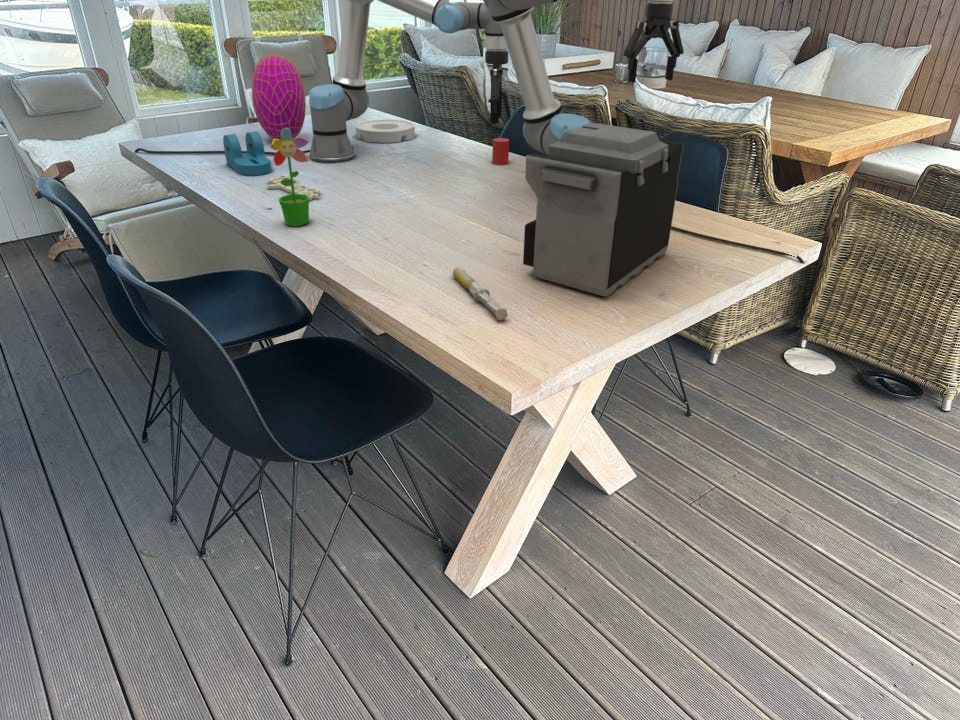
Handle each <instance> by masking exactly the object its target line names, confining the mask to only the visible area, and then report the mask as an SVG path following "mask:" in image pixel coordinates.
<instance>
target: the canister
mask: <svg viewBox="0 0 960 720" xmlns="http://www.w3.org/2000/svg"><path fill="white" fill-rule="evenodd" d="M509 150H510V139H509V138H506V137H495V138H492V154H491V155H492V156H491V159H492V160H491V161H492V162H491V163H492V164H494V165H499V166H503V165H508V164H509V159H510V158H509V155H510V151H509Z"/></svg>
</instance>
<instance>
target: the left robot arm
mask: <svg viewBox="0 0 960 720" xmlns="http://www.w3.org/2000/svg"><path fill="white" fill-rule="evenodd" d="M374 1H375V0H343V9H342V22H341V30H340V31H341V33H340V43H339V44H340V45H339V55H338V68H337V73H336V74H334V75H333V76H332V83H328V84H323V85H321V84H320V85H317V86H314V87H313V88H311V89H310V90H309V93H308V98H309V99H308V104H309V109H310V110H309V111H310V119H311V127H312V141H311V144H310V149H307V150H301V151H302V152H304V153H305V154H309V158H310V160H312V161H315V162H319V163H342V162H346V161H349V160H352V159H354V158H355V152H354V146H353V145H352V143H351V141H350V138H349V135H348V130H347V122H348V121H350V120H355V119H357V118H359V117H361V116H362V115H364V114H365V113H366V112H367V110H368V108H369V105H370V96H369V95H370V94H369V92H368V91H367V82H366V81H365V79H364V77H363V75H364V67H365V56H366V48H367V40H368V39H367V38H368V37H367V36H368V30H369V19H370V12H371V11H370V10H371V4H372V3H373V2H374ZM377 1H378V2H379V3H383V4H385V5H387V6H389V7H391V8H394V9H397V10H399V11H401V12H403V13H406V14H408V15H411V16H413V17H415V18H418V19H419V20H422V21H424V22H427V23H429V24H431V25H433V26H435V27H437V28H438V29H439V31H440V32H442V33H445V34H455V33H457V32H460V31H465V30H484V49H485V52H484V63H485V64H487V65H492V68H491V69H490V70H489V75H490V98H489V99H488V103H489V104H490V108H489V109H490V115H489V116H490V118H489V119H490V122H489V123H490V124H499V123H500V116H502V113H503V112H502V106H503V99H502V98H503V97H502V96H503V95H505V91H504V90H503V75H504V69H503V68H502V67H503V65H507V64H508V63H509V51H508V48H507V45H506V41H505V38H504V35H503V32H502V28H501V26H500V25H499V24H497V23H495V22H494V21H493V18H492V15H491V12H490V9H489V6H488V5H487V4H485V3H484V2H468V1H455V2H451V1H447V0H377ZM140 151H141V152H144V153H147V154H158V155H159V154H167V155H169V154H170V155H171V154H173V155H175V154H176V155H177V154H181V155H187V154H190V155H191V154H193V155H194V154H198V155H199V154H200V155H201V154H225V150H148V149H145V148H143V147H138V148H136V149H135V150H134V152H133V153H135V154H137V153H138V152H140ZM264 152H265V155H271V156H272V155H273V156H274V155H275V153H276V152H277V151H275V152H274V151H264ZM242 153H247V150H242Z"/></svg>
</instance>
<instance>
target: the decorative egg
mask: <svg viewBox="0 0 960 720" xmlns="http://www.w3.org/2000/svg"><path fill="white" fill-rule="evenodd" d="M253 70H254V71H253V73H252V77H251V101H252V107H253V110H254V114H255V116H256V118H257V121H258V123H259V125H260V127H261V128H262V130H263V131H264V133H266V135H267V136H268V137H270V138H271V139H272V140H273V139H279V140H281V136H280V134H281V131H282V130H283V129H284V128H288V129H289V130H290V131H291V134H292V139H293V138H295V137H298V136H299V134H301V131H302V129H303V127H304V123H305V118H306V104H307V103H306V102H307V101H306V99H307V97H306V93H305V88H304V84H303V81H302V77H301V75H300V73H299V71H298V69H297V67H296V66H295V65H294V63H293V62H292V61H291V60H290V59H288V58H287V57H285V56H282V55H280V54H268V55H265V56H262V57H261V58H260V59H259V60H258V61H257V62H256V65H255V68H254V69H253ZM281 141H282V140H281Z"/></svg>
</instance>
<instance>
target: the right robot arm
mask: <svg viewBox="0 0 960 720" xmlns="http://www.w3.org/2000/svg"><path fill="white" fill-rule="evenodd" d="M482 1H483V3H485V4H487V5H488V6H489V9H490V12H491V15H492V18H493V21H494V22H495V23H497V24H499V25H500V26H501V28H502V32H503V35H504V38H505V41H506V45H507V48H508V49H507V51H508V52H509V53H508V56H509V57H510V61H511V64H512V68H513V71H514V74H515V77H516V80H517V84H518V87H519V91H520V93H521V97H522V100H523V103H524V107H525V109H524V111H523V113H522V117H523V121H524V122H523V124H522V125H523V126H522V133H523V137H524V140H525V141H526V143H527V144H528V145H529V146H530V147H531V148H532V149H534V150H535V151H537V152H539V153H542V155H546V156H548V147H549V145H551V144H553V143H555V142H558V141H559V140H560V138H561V137H562V135H563V133H564V132H566V131H569V130H572V129H580V128H582V126H584V125H586V124H589V123H591V121H590V120H589V119H588V118H586V117H585V116H583V115H576V114H574V113H564V110H563V105H562V103H561V101H560V100H558V99H556V98H555V97H554V94H553V90H552V87H551V83H550V79H549V76H548V72H547V68H546V64H545V61H544V58H543V54H542V50H541V46H540V44H539V40H538V36H537V33H536V29H535V25H534V21H533V19H532V14H531V13H532V12H533V10H534V7H535V8H536V7H539V6H543V5H549V4H552V3H557V2H558V1H559V0H482ZM647 1H648V3H647V4H646V9H645V22H644V21H639V20H638V21H636V22H635V25H634V30H633V32H632V34H631V36H630V39H629V41H628V43H627V44H626V47H625V49H624V51H623V53H622V55H623V57H626V58H628V60H627V61H628V62H627V70H628V71H629V72H628V79H627V81H628V82H629V83H633V84H636V80H637V72H638V63H639V58H637V57H638V56H639V54H640V53H641V52H642V50H644V48H645V46H646V45H647V43H648V42H649V41H650V40H652V39H661V40H662V41H663V43H664V45H665V47H666V49H667V51H668V53H669V55H668V56H667V61H666V67H665V75H664V79H665V80H667V81H673V78H674V71H675V69H676V68H677V61H678V58H680V57H681V55H683V54H684V53H685V51H684V46H683V41H682V38H681V33H680V21H679V20H673V19H672V20H671V18H672V17H673V10H674V4H673V2H674V1H675V0H647ZM669 29H670V32H669ZM671 230H674V231H677V232H681V233H684V234H688V235H692V236H695V237H700V238H703V239H707V240H712V241H716V242H721V243H725V244H729V245H734V246H738V247H743V248H746V249H752V250H757V251H762V252H767V253H772V254H775V255H780V256H787V257H793V258H795V259H797V261H798V262H799V263H800V264H805V261H804V260H803V258H802V257H801V256H800V255H798V254H796V255H797V257H795V256H792V255H789V254H786V253H787V252H786V253H784V251H780V250H776V249H771V248H767V247H766V248H765V247H761V246H756V245H751V244H746V243H743V242H737V241H732V240H728V239H723V238H719V237H715V236H711V235H707V234H702V233H697V232H695V231H692V230H688V229H683V228H680V227H676V226H673V225H671Z"/></svg>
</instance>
